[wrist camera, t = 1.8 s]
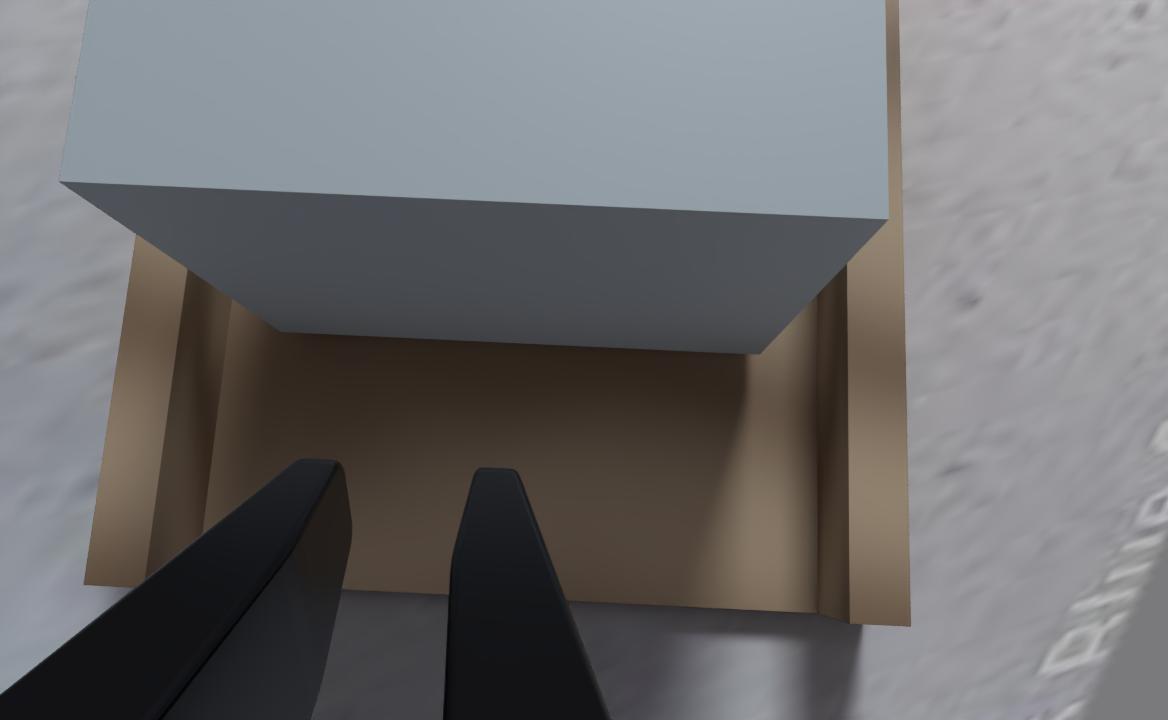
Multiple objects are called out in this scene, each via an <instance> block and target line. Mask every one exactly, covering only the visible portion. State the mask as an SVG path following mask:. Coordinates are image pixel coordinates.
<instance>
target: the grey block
mask: <svg viewBox="0 0 1168 720" xmlns="http://www.w3.org/2000/svg"><path fill="white" fill-rule="evenodd" d="M59 182H60V183H62V184H63V185H65V186H66V187H68V188H69V189H71V190H72V191H74V192H75V193H77V194H78V195H79V196H81V197H82V198H84V199H85V200H87V201H88V202H90V203H91V204H93V205H94V206H96V207H97V208H99V209H100V210H102V211H103V212H105V213H106V214H108V215H109V216H110V217H112V218H113V219H115V220H116V221H118V222H119V223H121V224H122V225H124V226H125V227H127V228H128V229H130V230H131V231H133V232H134V233H136V234H137V235H138V236H140V237H141V238H143V239H144V240H146V241H147V242H149V243H150V244H152V245H153V246H155V247H156V248H158V249H159V250H161V251H162V252H164V253H165V254H166V255H168V256H169V257H171V258H172V259H174V260H175V261H177V262H178V263H180V264H181V265H183V266H184V267H186V268H187V269H189V270H190V271H192V272H193V273H195V274H196V275H197V276H199V277H200V278H202V279H203V280H205V281H206V282H208V283H209V284H211V285H212V286H214V287H215V288H217V289H218V290H220V291H221V292H223V293H224V294H225V295H227V296H228V297H230V298H231V299H233V300H234V301H236V302H237V303H239V304H240V305H242V306H243V307H245V308H246V309H248V310H249V311H251V312H252V313H253V314H255V315H256V316H258V317H259V318H261V319H262V320H264V321H265V322H267V323H268V324H270V325H271V326H273V327H274V328H276V329H277V330H279V331H280V332H291V333H312V334H333V335H354V336H375V337H397V338H418V339H439V340H460V341H481V342H502V343H523V344H544V345H565V346H586V347H607V348H628V349H649V350H670V351H691V352H713V353H734V354H755V355H760V354H761V353H762V352H763V351H764V350H765V349H766V348H767V347H768V346H769V344H770V343H771V342H772V341H773V340H774V339H775V338H776V337H777V336H778V335H779V334H780V333H781V332H782V331H783V330H784V329H785V328H786V327H787V326H788V325H789V324H790V323H791V321H792V320H793V319H794V318H795V317H796V316H797V315H798V314H799V313H800V312H801V311H802V310H803V309H804V308H805V307H806V306H807V305H808V304H809V303H810V302H811V301H812V299H813V298H814V297H815V296H816V295H817V294H818V293H819V292H820V291H821V290H822V289H823V288H824V287H825V286H826V285H827V284H828V283H829V282H830V281H831V280H832V279H833V277H834V276H835V275H836V274H837V273H838V272H839V271H840V270H841V269H842V268H843V267H844V266H845V265H846V264H847V263H848V262H849V261H850V260H851V259H852V258H853V257H854V256H855V254H856V253H857V252H858V251H859V250H860V249H861V248H862V247H863V246H864V245H865V244H866V243H867V242H868V241H869V240H870V239H871V238H872V237H873V236H874V235H875V234H876V232H877V231H878V230H879V229H880V228H881V227H882V226H883V225H884V224H885V223H886V222H887V221H888V220H889V192H888V131H887V71H886V10H885V0H89V4H88V10H87V16H86V22H85V28H84V34H83V40H82V46H81V51H80V57H79V63H78V69H77V75H76V81H75V87H74V93H73V99H72V105H71V111H70V117H69V122H68V128H67V134H66V140H65V146H64V152H63V158H62V164H61V170H60V176H59Z"/></svg>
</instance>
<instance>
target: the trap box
mask: <svg viewBox="0 0 1168 720" xmlns="http://www.w3.org/2000/svg"><path fill="white" fill-rule="evenodd" d="M885 10H886V71H887V131H888V192H889V220H888V221H887V222H886V223H885V224H884V225H883V226H882V227H881V228H880V229H879V230H878V231H877V232H876V234H875V235H874V236H873V237H872V238H871V239H870V240H869V241H868V242H867V243H866V244H865V245H864V246H863V247H862V248H861V249H860V250H859V251H858V252H857V253H856V254H855V256H854V257H853V258H852V259H851V260H850V261H849V262H848V263H847V264H846V265H845V266H844V267H843V268H842V269H841V270H840V271H839V272H838V273H837V274H836V275H835V276H834V277H833V279H832V280H831V281H830V282H829V283H828V284H827V285H826V286H825V287H824V288H823V289H822V290H821V291H820V292H819V293H818V294H817V295H816V296H815V297H814V298H813V299H812V301H811V302H810V303H809V304H808V305H807V306H806V307H805V308H804V309H803V310H802V311H801V312H800V313H799V314H798V315H797V316H796V317H795V318H794V319H793V320H792V321H791V323H790V324H789V325H788V326H787V327H786V328H785V329H784V330H783V331H782V332H781V333H780V334H779V335H778V336H777V337H776V338H775V339H774V340H773V341H772V342H771V343H770V344H769V346H768V347H767V348H766V349H765V350H764V351H763V352H762V353H761V354H760V355H755V354H734V353H713V352H691V351H670V350H649V349H628V348H607V347H586V346H565V345H544V344H523V343H502V342H481V341H460V340H439V339H418V338H397V337H375V336H354V335H333V334H312V333H291V332H280V331H279V330H277V329H276V328H274V327H273V326H271V325H270V324H268V323H267V322H265V321H264V320H262V319H261V318H259V317H258V316H256V315H255V314H253V313H252V312H251V311H249V310H248V309H246V308H245V307H243V306H242V305H240V304H239V303H237V302H236V301H234V300H233V299H231V298H230V297H228V296H227V295H225V294H224V293H223V292H221V291H220V290H218V289H217V288H215V287H214V286H212V285H211V284H209V283H208V282H206V281H205V280H203V279H202V278H200V277H199V276H197V275H196V274H195V273H193V272H192V271H190V270H189V269H187V268H186V267H184V266H183V265H181V264H180V263H178V262H177V261H175V260H174V259H172V258H171V257H169V256H168V255H166V254H165V253H164V252H162V251H161V250H159V249H158V248H156V247H155V246H153V245H152V244H150V243H149V242H147V241H146V240H144V239H143V238H141V237H140V236H138V235H137V234H136V238H135V245H134V252H133V258H132V265H131V272H130V278H129V285H128V292H127V298H126V305H125V312H124V318H123V325H122V332H121V338H120V345H119V352H118V358H117V365H116V372H115V378H114V385H113V392H112V398H111V405H110V412H109V418H108V425H107V432H106V438H105V445H104V452H103V458H102V465H101V472H100V478H99V485H98V492H97V498H96V505H95V512H94V518H93V525H92V532H91V538H90V545H89V552H88V558H87V565H86V572H85V578H84V585H95V586H114V587H134V588H135V587H137V586H138V585H139V584H140V583H142V582H143V581H144V580H145V579H147V578H148V577H149V576H150V575H152V574H153V573H154V572H155V571H157V570H158V569H159V568H161V567H162V566H163V565H164V564H166V563H167V562H168V561H169V560H171V559H172V558H173V557H174V556H176V555H177V554H178V553H179V552H181V551H182V550H183V549H184V548H186V547H187V546H188V545H190V544H191V543H192V542H193V541H195V540H196V539H197V538H198V537H200V536H201V535H202V534H203V533H205V532H206V531H207V530H208V529H210V528H211V527H212V526H214V525H215V524H216V523H217V522H219V521H220V520H221V519H222V518H224V517H225V516H226V515H227V514H229V513H230V512H231V511H232V510H234V509H235V508H236V507H237V506H239V505H240V504H241V503H243V502H244V501H245V500H246V499H248V498H249V497H250V496H251V495H253V494H254V493H255V492H256V491H258V490H259V489H260V488H261V487H263V486H264V485H265V484H266V483H268V482H269V481H270V480H272V479H273V478H274V477H275V476H277V475H278V474H279V473H280V472H282V471H283V470H284V469H285V468H287V467H288V466H289V465H290V464H292V463H293V462H295V461H297V460H299V459H304V458H310V459H330V460H337V461H338V462H340V463H341V464H342V466H343V468H344V470H345V476H346V482H347V489H348V496H349V503H350V510H351V516H352V529H353V530H352V542H351V548H350V553H349V557H348V562H347V567H346V571H345V576H344V581H343V586H342V589H346V590H365V591H385V592H405V593H425V594H445V595H449V580H450V568H451V559H452V554H453V549H454V545H455V541H456V537H457V534H458V530H459V526H460V523H461V519H462V515H463V511H464V508H465V504H466V500H467V497H468V493H469V489H470V486H471V482H472V478H473V475H474V472H475V471H476V470H477V469H478V468H480V467H492V468H511V469H515V470H516V471H517V472H518V473H519V475H520V477H521V480H522V482H523V485H524V488H525V490H526V493H527V496H528V498H529V501H530V504H531V506H532V509H533V512H534V514H535V517H536V520H537V522H538V525H539V528H540V530H541V533H542V536H543V538H544V541H545V544H546V546H547V549H548V552H549V554H550V557H551V560H552V562H553V565H554V568H555V570H556V573H557V576H558V579H559V581H560V584H561V587H562V589H563V592H564V595H565V597H566V600H567V601H584V602H604V603H624V604H644V605H664V606H684V607H704V608H724V609H743V610H763V611H783V612H803V613H819V614H822V615H825V616H828V617H831V618H834V619H837V620H840V621H844V622H847V623H850V624H869V625H889V626H909V627H911V608H910V557H909V506H908V455H907V404H906V353H905V302H904V251H903V201H902V150H901V99H900V48H899V0H885Z"/></svg>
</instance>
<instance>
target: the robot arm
mask: <svg viewBox="0 0 1168 720" xmlns="http://www.w3.org/2000/svg"><path fill="white" fill-rule="evenodd" d="M352 530H353V529H352V516H351V510H350V503H349V496H348V489H347V482H346V476H345V470H344V468H343V466H342V464H341V463H340V462H338V461H337V460H330V459H310V458H304V459H299V460H297V461H295V462H293V463H292V464H290V465H289V466H288V467H287V468H285V469H284V470H283V471H282V472H280V473H279V474H278V475H277V476H275V477H274V478H273V479H272V480H270V481H269V482H268V483H266V484H265V485H264V486H263V487H261V488H260V489H259V490H258V491H256V492H255V493H254V494H253V495H251V496H250V497H249V498H248V499H246V500H245V501H244V502H243V503H241V504H240V505H239V506H237V507H236V508H235V509H234V510H232V511H231V512H230V513H229V514H227V515H226V516H225V517H224V518H222V519H221V520H220V521H219V522H217V523H216V524H215V525H214V526H212V527H211V528H210V529H208V530H207V531H206V532H205V533H203V534H202V535H201V536H200V537H198V538H197V539H196V540H195V541H193V542H192V543H191V544H190V545H188V546H187V547H186V548H184V549H183V550H182V551H181V552H179V553H178V554H177V555H176V556H174V557H173V558H172V559H171V560H169V561H168V562H167V563H166V564H164V565H163V566H162V567H161V568H159V569H158V570H157V571H155V572H154V573H153V574H152V575H150V576H149V577H148V578H147V579H145V580H144V581H143V582H142V583H140V584H139V585H138V586H137V587H135V588H134V589H133V590H132V591H130V592H129V593H128V594H126V595H125V596H124V597H123V598H121V599H120V600H119V601H118V602H116V603H115V604H114V605H113V606H111V607H110V608H109V609H108V610H106V611H105V612H104V613H103V614H101V615H100V616H99V617H97V618H96V619H95V620H94V621H92V622H91V623H90V624H89V625H87V626H86V627H85V628H84V629H82V630H81V631H80V632H79V633H77V634H76V635H75V636H74V637H72V638H71V639H70V640H68V641H67V642H66V643H65V644H63V645H62V646H61V647H60V648H58V649H57V650H56V651H55V652H53V653H52V654H51V655H50V656H48V657H47V658H46V659H44V660H43V661H42V662H41V663H39V664H38V665H37V666H36V667H34V668H33V669H32V670H31V671H29V672H28V673H27V674H26V675H24V676H23V677H22V678H21V679H19V680H18V681H17V682H15V683H14V684H13V685H12V686H10V687H9V688H8V689H7V690H5V691H4V692H3V693H2V694H0V720H310V718H311V715H312V713H313V709H314V706H315V703H316V700H317V696H318V693H319V690H320V686H321V682H322V678H323V674H324V669H325V665H326V660H327V656H328V651H329V646H330V642H331V637H332V632H333V628H334V623H335V618H336V614H337V609H338V604H339V600H340V595H341V590H342V586H343V581H344V576H345V571H346V567H347V562H348V557H349V553H350V548H351V542H352ZM443 720H611V717H610V715H609V712H608V709H607V707H606V704H605V701H604V699H603V696H602V693H601V691H600V688H599V685H598V683H597V680H596V677H595V675H594V672H593V669H592V667H591V664H590V661H589V659H588V656H587V653H586V651H585V648H584V645H583V643H582V640H581V637H580V635H579V632H578V629H577V627H576V624H575V621H574V619H573V616H572V613H571V611H570V608H569V605H568V603H567V600H566V597H565V595H564V592H563V589H562V587H561V584H560V581H559V579H558V576H557V573H556V570H555V568H554V565H553V562H552V560H551V557H550V554H549V552H548V549H547V546H546V544H545V541H544V538H543V536H542V533H541V530H540V528H539V525H538V522H537V520H536V517H535V514H534V512H533V509H532V506H531V504H530V501H529V498H528V496H527V493H526V490H525V488H524V485H523V482H522V480H521V477H520V475H519V473H518V472H517V471H516V470H515V469H511V468H492V467H480V468H478V469H477V470H476V471H475V472H474V475H473V478H472V482H471V486H470V489H469V493H468V497H467V500H466V504H465V508H464V511H463V515H462V519H461V523H460V526H459V530H458V534H457V537H456V541H455V545H454V549H453V554H452V559H451V568H450V580H449V601H448V622H447V643H446V664H445V685H444V706H443Z"/></svg>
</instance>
